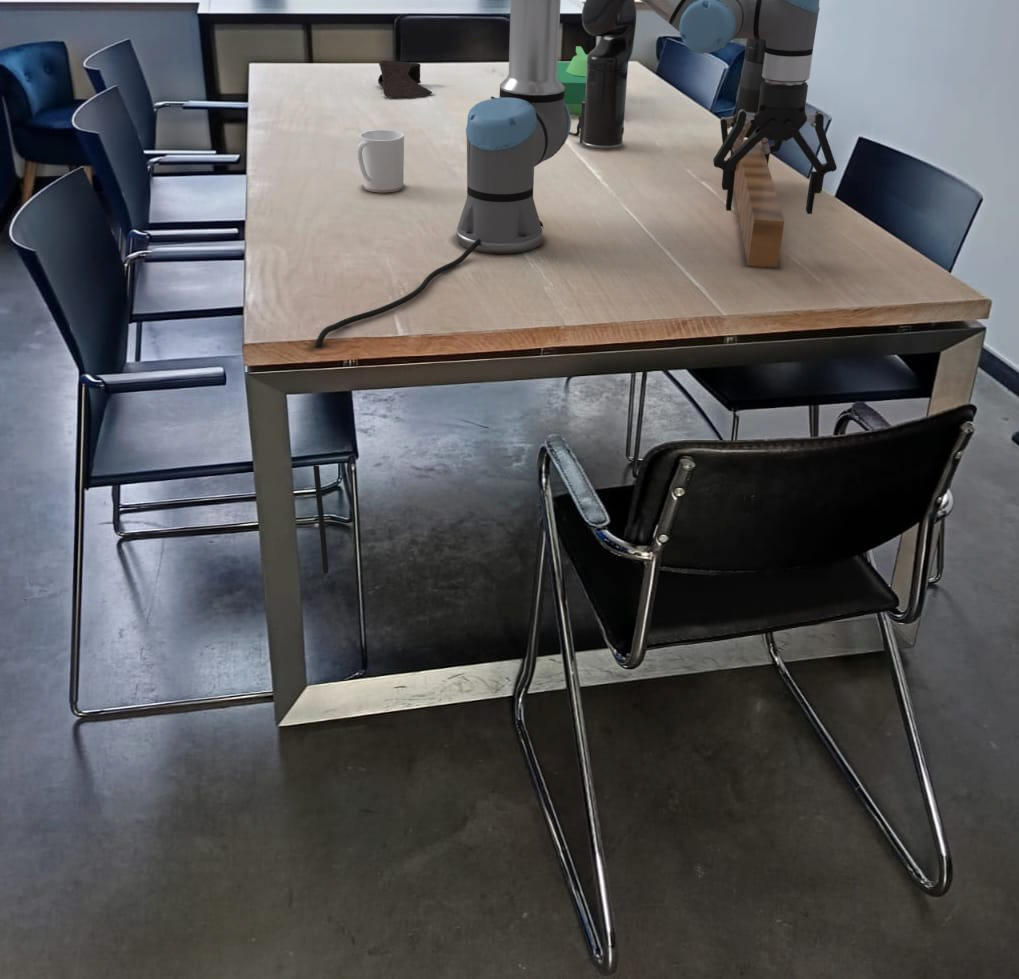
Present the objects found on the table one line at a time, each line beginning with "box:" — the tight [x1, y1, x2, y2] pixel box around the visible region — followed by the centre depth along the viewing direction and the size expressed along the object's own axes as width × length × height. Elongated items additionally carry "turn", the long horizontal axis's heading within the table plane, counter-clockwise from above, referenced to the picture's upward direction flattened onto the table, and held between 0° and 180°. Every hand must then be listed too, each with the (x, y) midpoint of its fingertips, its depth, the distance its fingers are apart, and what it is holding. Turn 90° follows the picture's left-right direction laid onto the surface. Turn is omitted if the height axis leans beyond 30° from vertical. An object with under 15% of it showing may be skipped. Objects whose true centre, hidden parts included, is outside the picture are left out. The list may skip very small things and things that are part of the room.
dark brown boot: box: [377, 59, 433, 99], centre depth 299 cm, size 18×8×15 cm
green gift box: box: [557, 45, 588, 116], centre depth 289 cm, size 18×12×35 cm
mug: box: [356, 129, 405, 194], centre depth 219 cm, size 11×9×10 cm
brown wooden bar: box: [733, 139, 785, 269], centre depth 208 cm, size 55×5×8 cm, turn 173°
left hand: (768, 210), depth 188 cm, fingers open, 13 cm apart
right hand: (747, 170), depth 226 cm, fingers closed on brown wooden bar, 5 cm apart
